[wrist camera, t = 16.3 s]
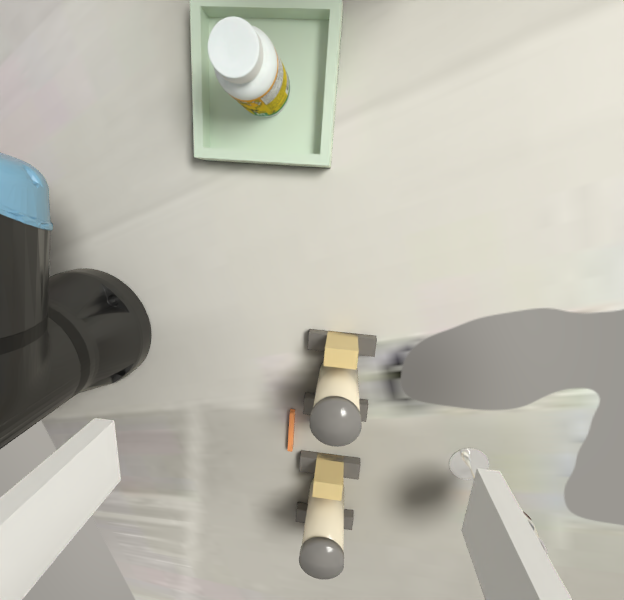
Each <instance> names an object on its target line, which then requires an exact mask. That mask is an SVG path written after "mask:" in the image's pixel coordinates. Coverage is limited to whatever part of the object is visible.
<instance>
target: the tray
mask: <svg viewBox="0 0 624 600" xmlns="http://www.w3.org/2000/svg"><path fill="white" fill-rule="evenodd" d="M231 16H235V17H240V18H242V19H244V20H246V21H247V22H249V23H250V24H251V25H252V26H255V27H257V28H259V29H260V30H262V31H263V32H264V33H265V34H266V35H267V36H268V37H269V39H270V40H271V42H272V43H273V45H274V47H275V49H276V51H277V53H278V55H279V57H280V59H281V61H282V63H283V65H284V67H285V69H286V71H287V74H288V76H289V80H290V96H289V99H288V102H287V104H286V105H285V107H284V108H283V110H282V111H281V112H279V113H278V114H277V115H274V116H271V117H258V116H255V115H253V114H251V113H250V112H249V111H247V110H246V109H245V108H244V107H243V106H242V105H241V104H240V103H238V102H237V101H236V100H235V99H234V98H233V97H232V96H230V95H229V94H228V93H227V92H226V91H225V90H224V89H223V87H222V86H221V85H220V83H219V81H218V79H217V77H216V74H215V71H214V67H213V65H212V63H211V61H210V58H209V55H208V39H209V35H210V33H211V31H212V29H213V27H214V26H215V25H216V24H217V23H218V22H219V21H220V20H222V19H224V18H226V17H231ZM342 16H343V0H190V31H191V67H192V102H193V138H194V157H195V158H198V159H202V160H208V161H225V162H241V163H257V164H273V165H289V166H305V167H321V168H331V158H332V145H333V132H334V119H335V106H336V94H337V81H338V68H339V55H340V42H341V29H342Z"/></svg>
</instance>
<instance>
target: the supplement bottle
mask: <svg viewBox="0 0 624 600" xmlns="http://www.w3.org/2000/svg"><path fill="white" fill-rule="evenodd" d="M208 55H209V58H210V61H211V63H212V65H213V67H214V71H215V74H216V77H217V79H218V81H219V83H220V85H221V86H222V87H223V89H224V90H225V91H226V92H227V93H228V94H229V95H230V96H232V97H233V98H234V99H235V100H236V101H237V102H238V103H240V104H241V105H242V106H243V107H244V108H245V109H246V110H247V111H249V112H250V113H251V114H253V115H255V116H258V117H271V116H274V115H277V114H278V113H279V112H281V111H282V110H283V108H284V107H285V105H286V104H287V102H288V99H289V96H290V80H289V76H288V74H287V71H286V69H285V67H284V65H283V63H282V61H281V59H280V57H279V55H278V53H277V51H276V49H275V47H274V45H273V43H272V42H271V40H270V39H269V37H268V36H267V35H266V34H265V33H264V32H263V31H262V30H260V29H259V28H257V27H255V26H252V25H251V24H250V23H249V22H247V21H246V20H244V19H242V18H240V17H235V16H231V17H226V18H224V19H222V20H220V21H219V22H218V23H217V24H216V25H215V26H214V27H213V29H212V31H211V33H210V35H209V39H208Z"/></svg>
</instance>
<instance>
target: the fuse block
mask: <svg viewBox="0 0 624 600" xmlns="http://www.w3.org/2000/svg"><path fill="white" fill-rule="evenodd" d="M376 342H377V338H376V336H373V335H363V334H354V333H344V332H334V331H324V330H314V329H310V331H309V338H308V350H316V351H325V354H324V366H327V367H336V368H345V369H354V370H357V361H358V355H363V356H372V357H375V349H376ZM314 400H315V394H314V393H305V397H304V410H303V414H307V415H311V411H312V409H313V405H314ZM359 405H360V414H361V421H364V422H366V418H367V410H368V400H365V399H359ZM294 422H295V409H291V410H290V417H289V435H288V451H292V449H293V438H294ZM299 471H300V472H308V473H315V475H314V484H313V495H312V497H317V498H324V499H331V500H338V501H341V499H342V491H343V477H344V478H351V479H359V472H360V458H355V457H347V456H340V455H332V454H325V453H317V452H310V451H302V450H301V455H300V467H299ZM307 506H308V504H306V503H299V502H298V504H297V510H296V522H302V523H305V520H306V513H307ZM352 525H353V510H347V509H344V529H348V530H352Z"/></svg>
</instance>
